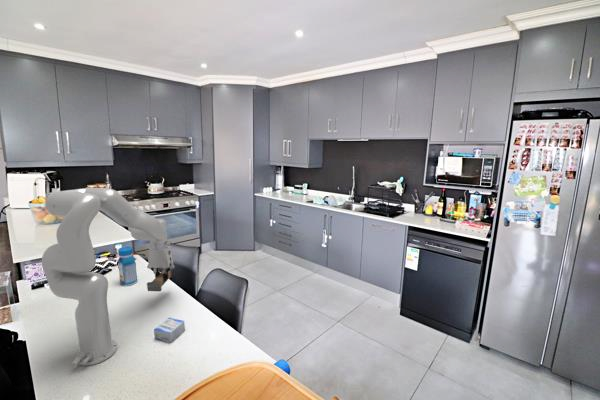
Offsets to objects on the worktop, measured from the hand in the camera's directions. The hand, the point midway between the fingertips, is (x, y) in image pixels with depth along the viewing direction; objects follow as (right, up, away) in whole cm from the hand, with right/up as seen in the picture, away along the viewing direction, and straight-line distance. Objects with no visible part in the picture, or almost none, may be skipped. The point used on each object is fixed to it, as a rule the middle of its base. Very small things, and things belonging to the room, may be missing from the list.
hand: (162, 279), depth 142 cm
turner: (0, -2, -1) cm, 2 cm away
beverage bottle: (-27, -7, +18) cm, 33 cm away
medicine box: (+16, -13, -20) cm, 29 cm away
